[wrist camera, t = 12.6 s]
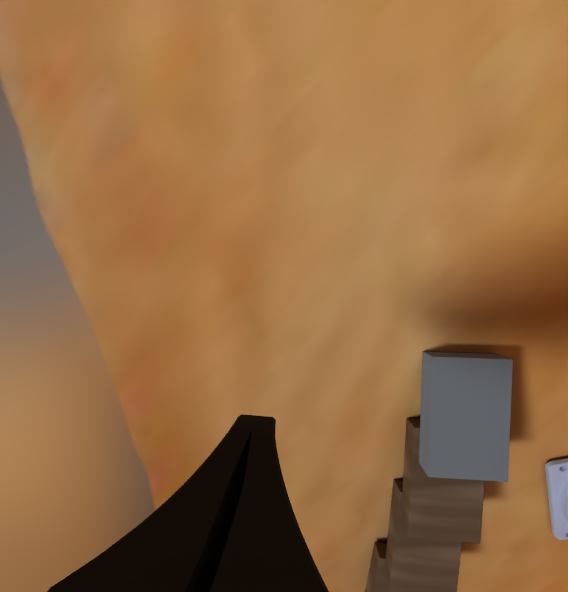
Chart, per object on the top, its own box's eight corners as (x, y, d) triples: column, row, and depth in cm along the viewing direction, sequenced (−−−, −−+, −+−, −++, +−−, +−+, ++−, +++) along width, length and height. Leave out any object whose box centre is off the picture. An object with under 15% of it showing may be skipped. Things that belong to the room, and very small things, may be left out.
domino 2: (400, 492, 23) (389, 591, 23) (466, 500, 23) (455, 600, 23) (393, 478, 24) (384, 571, 25) (455, 486, 24) (445, 580, 24)
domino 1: (414, 427, 21) (408, 536, 21) (487, 433, 21) (480, 543, 21) (406, 417, 23) (400, 519, 23) (474, 422, 22) (467, 525, 23)
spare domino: (432, 356, 19) (428, 476, 19) (512, 359, 19) (507, 481, 19) (422, 351, 21) (418, 462, 21) (496, 353, 21) (492, 466, 21)
